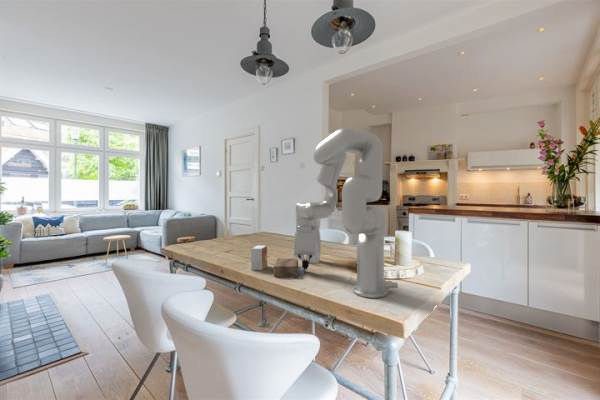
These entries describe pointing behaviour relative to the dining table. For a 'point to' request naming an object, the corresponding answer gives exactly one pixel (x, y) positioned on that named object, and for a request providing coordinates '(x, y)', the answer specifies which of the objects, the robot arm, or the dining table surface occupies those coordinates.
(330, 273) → the dining table surface
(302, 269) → the tile
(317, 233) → the skyscraper
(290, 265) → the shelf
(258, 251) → the small box
